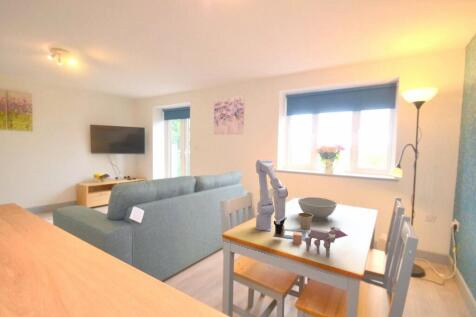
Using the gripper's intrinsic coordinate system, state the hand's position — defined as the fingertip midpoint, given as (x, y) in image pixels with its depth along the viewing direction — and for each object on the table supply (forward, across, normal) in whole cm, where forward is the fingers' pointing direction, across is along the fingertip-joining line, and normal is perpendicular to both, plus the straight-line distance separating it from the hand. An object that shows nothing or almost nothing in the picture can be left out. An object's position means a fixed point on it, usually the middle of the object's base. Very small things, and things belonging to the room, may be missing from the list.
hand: (279, 232), depth 133 cm
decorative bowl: (+5, +48, -20) cm, 52 cm away
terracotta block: (+4, 0, -10) cm, 11 cm away
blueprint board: (+4, +10, -5) cm, 12 cm away
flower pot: (+4, +24, -13) cm, 28 cm away
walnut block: (+2, 0, 0) cm, 2 cm away
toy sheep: (+4, -8, -24) cm, 26 cm away
